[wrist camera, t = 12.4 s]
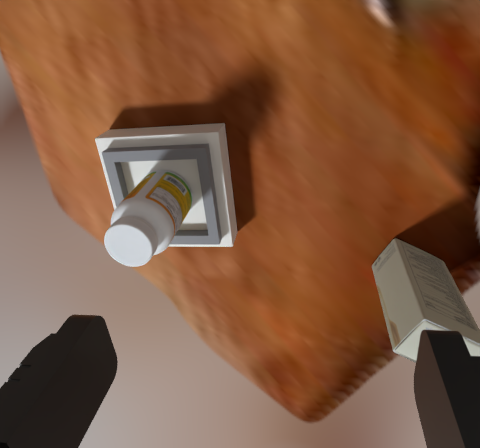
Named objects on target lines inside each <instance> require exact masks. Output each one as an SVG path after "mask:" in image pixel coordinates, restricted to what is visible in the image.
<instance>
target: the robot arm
mask: <svg viewBox="0 0 480 448" xmlns="http://www.w3.org/2000/svg"><path fill="white" fill-rule="evenodd" d="M116 371H117V356H116V352H115V349H114V347H113V343H112V340H111V337H110V335H109V332H108V329H107V326H106V323H105V320H104V319H103V318H102V317H101V316H95V315H72V316H70V317H69V318H68V319H67V320H66V321H65V323H64V324H63V325H62V327H61V328H60V329H59V330H58V332H57V333H56V334H50V335H49V336H48V337H47V338H45V339H44V340H43V341H41V342H40V343H39V344H37V345H36V346H35V347H33V349H32V350H31V351H30V353H28V355H27V356H26V357H25V359H24V360H23V361H22V362H21V364H20V367H19V368H16V370H15V371H14V372H13V374H12V375H11V376H10V377H9V378H8V379H9V380H8V382H5V383H4V385H3V386H2V387H1V388H0V448H78V447H79V445H80V443H81V441H82V439H83V437H84V435H85V433H86V432H87V430H88V428H89V426H90V424H91V422H92V420H93V418H94V416H95V415H96V413H97V411H98V409H99V407H100V405H101V403H102V401H103V399H104V397H105V395H106V394H107V392H108V390H109V388H110V386H111V384H112V382H113V380H114V378H115V375H116ZM414 393H415V400H416V405H417V409H418V413H419V417H420V421H421V425H422V429H423V432H424V437H425V441H426V445H427V448H480V356H471V355H470V353H469V351H468V348H467V346H466V344H465V341H464V339H463V337H462V335H461V333H460V332H458V331H443V330H422V332H421V335H420V341H419V347H418V354H417V360H416V366H415V373H414Z"/></svg>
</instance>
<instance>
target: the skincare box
mask: <svg viewBox="0 0 480 448" xmlns="http://www.w3.org/2000/svg"><path fill="white" fill-rule="evenodd" d="M372 269H373V273H374V277H375V281H376V285H377V289H378V293H379V297H380V301H381V305H382V308H383V312H384V317H385V320H386V324H387V328H388V332H389V336H390V340H391V344H392V348H393V351H394V352H395V353H397V354H399V355H401V356H403V357H405V358H407V359H409V360H411V361H413V362H416V360H417V354H418V347H419V341H420V335H421V332H422V330H443V331H458V332H460V333H461V335H462V337H463V339H464V341H465V344H466V346H467V348H468V351H469V353H470V355H471V356H480V330H479V328H478V326H477V324H476V322H475V321H474V318H473V317H472V315H471V313H470V311H469V309H468V307H467V305H466V304H465V301H464V299H463V297H462V295H461V294H460V292H459V290H458V288H457V286H456V284H455V282H454V280H453V278H452V276H451V274H450V272H449V271H448V269H447V267H446V265H445V263H444V261H442V260H440V259H438V258H437V257H435V256H433V255H431V254H429V253H427V252H425V251H423V250H421V249H419V248H416V247H414V246H412V245H410V244H408V243H406V242H403V241H401V240H399V239H397V238H394V239H393V240H392V241H391V243H390V244H389V245H388V246H387V247H386V248H385V249H384V251H383V252H382V253H381V254H380V256H379V257H378V258H377V259H376V261H375V262H374V263H373V265H372Z"/></svg>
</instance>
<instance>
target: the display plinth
mask: <svg viewBox="0 0 480 448" xmlns="http://www.w3.org/2000/svg"><path fill="white" fill-rule="evenodd" d="M95 141H96V144H97V148H98V152H99V155H100V159H101V163H102V166H103V170H104V173H105V177H106V181H107V184H108V188H109V192H110V195H111V199H112V202H113V206H114V210H115V209H116V208H117V206H118V205H119V204H120V203H121V202H122V201H123V200H124V199H125V197H126V196H127V195H128V194H129V193H130V192H131V191H132V190H133V189H134V188H135V187H136V186H137V185H138V184H139V183H140V182H141V181H142V179H143V178H144V177H145V176H147V175H148V174H149V173H151V172H153V171H157V170H169V171H172V172H175V173H177V174H178V175H180V176H181V177H182V178H184V180H185V181H186V182H187V183H188V185H189V186H190V188H191V191H192V196H193V201H192V206H191V208H190V210H189V212H188V214H187V216H186V217H185V219H184V221H183V222H182V224H181V226H180V228H179V229H178V231H177V233H176V234H175V236H174V238H173V240H172V241H171V243H170V244H169V246H193V247H233V244H234V241H235V238H236V235H237V223H236V215H235V206H234V198H233V189H232V181H231V172H230V164H229V155H228V147H227V138H226V129H225V123H216V124H199V125H181V126H164V127H146V128H129V129H111V130H108V131H106V132H104V133H103V134H101V135H100V136H98V137H97V138H95Z"/></svg>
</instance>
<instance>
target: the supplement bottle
mask: <svg viewBox="0 0 480 448" xmlns="http://www.w3.org/2000/svg"><path fill="white" fill-rule="evenodd" d="M192 201H193V196H192V191H191V188H190V186H189V185H188V183H187V182H186V181H185V180H184V178H182V177H181V176H180V175H178V174H177V173H175V172H172V171H169V170H157V171H153V172H151V173H149V174H148V175H147V176H145V177H144V178H143V179H142V181H141V182H140V183H139V184H138V185H137V186H136V187H135V188H134V189H133V190H132V191H131V192H130V193H129V194H128V195H127V196H126V197H125V199H124V200H123V201H122V202H121V203H120V204H119V205H118V206H117V208H116V209H115V210H114V212H113V214H112V218H111V227H110V228H109V229H108V230H107V232H106V234H105V238H104V243H105V247H106V250H107V251H108V253H109V254H110V255H111V257H112V258H113V259H115V260H116V261H117V262H119V263H121V264H123V265H126V266H131V267H137V266H141V265H144V264H146V263H147V262H148V261H149V260H150V259H151V257H152V256H153V255H156V254H159V253H161V252H162V251H164V250H165V249H166V248H167V247H168V246H169V244H170V243H171V241H172V240H173V238H174V236H175V234H176V233H177V231H178V229H179V228H180V226H181V224H182V222H183V221H184V219H185V217H186V216H187V214H188V212H189V210H190V208H191V206H192Z"/></svg>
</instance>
